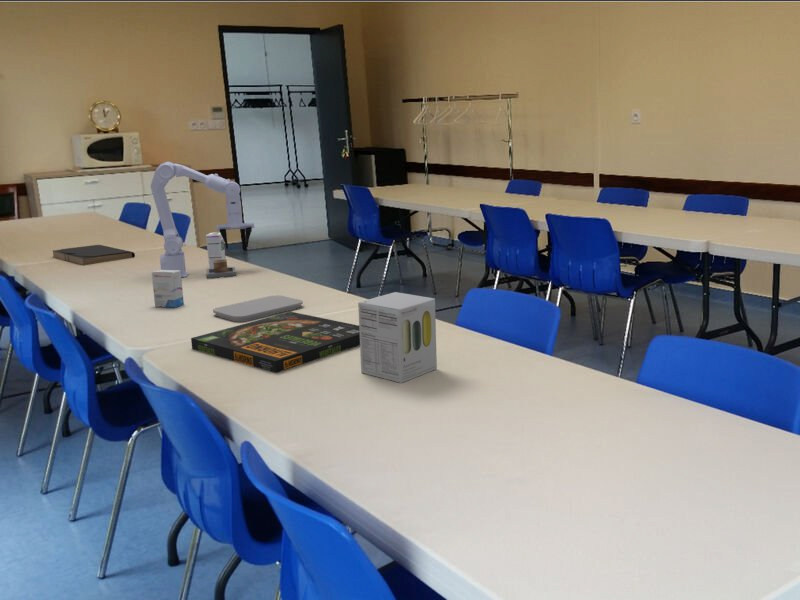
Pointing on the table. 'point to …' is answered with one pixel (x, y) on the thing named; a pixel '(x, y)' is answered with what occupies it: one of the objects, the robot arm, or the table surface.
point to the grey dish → (230, 273)
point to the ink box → (167, 288)
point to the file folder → (92, 254)
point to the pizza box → (280, 341)
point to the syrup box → (215, 248)
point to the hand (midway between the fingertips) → (237, 247)
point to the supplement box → (397, 336)
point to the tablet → (257, 308)
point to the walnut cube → (220, 266)
